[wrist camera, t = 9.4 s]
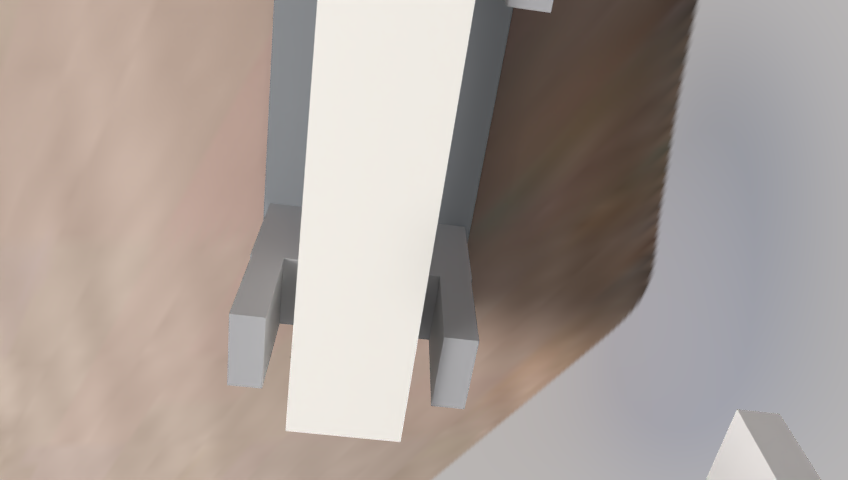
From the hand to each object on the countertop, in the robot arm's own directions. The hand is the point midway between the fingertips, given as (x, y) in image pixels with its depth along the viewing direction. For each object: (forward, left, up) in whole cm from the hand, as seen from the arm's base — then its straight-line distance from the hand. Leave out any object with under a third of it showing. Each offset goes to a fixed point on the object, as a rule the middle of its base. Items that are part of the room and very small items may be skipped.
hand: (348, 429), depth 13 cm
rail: (+1, 0, -15) cm, 15 cm away
